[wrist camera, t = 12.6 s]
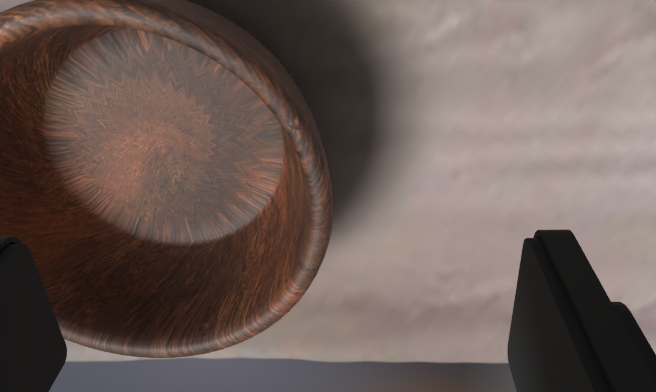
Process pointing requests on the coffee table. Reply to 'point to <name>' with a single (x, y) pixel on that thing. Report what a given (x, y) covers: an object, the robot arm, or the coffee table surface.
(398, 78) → the coffee table surface
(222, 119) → the wooden bowl
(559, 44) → the coffee table surface
